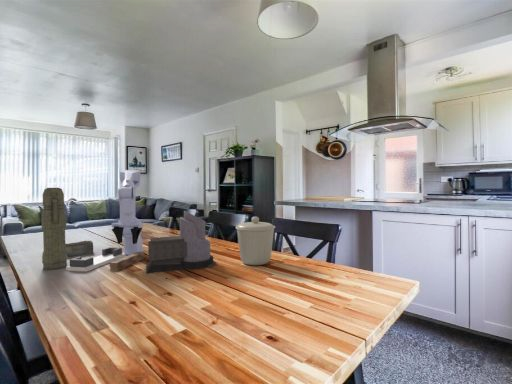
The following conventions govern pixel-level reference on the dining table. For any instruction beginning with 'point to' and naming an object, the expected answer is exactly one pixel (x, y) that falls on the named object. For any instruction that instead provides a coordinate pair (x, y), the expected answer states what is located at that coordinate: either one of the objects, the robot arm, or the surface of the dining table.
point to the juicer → (181, 248)
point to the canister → (255, 241)
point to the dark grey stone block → (79, 248)
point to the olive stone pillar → (54, 229)
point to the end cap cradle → (95, 260)
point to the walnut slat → (126, 261)
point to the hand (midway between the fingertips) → (127, 243)
